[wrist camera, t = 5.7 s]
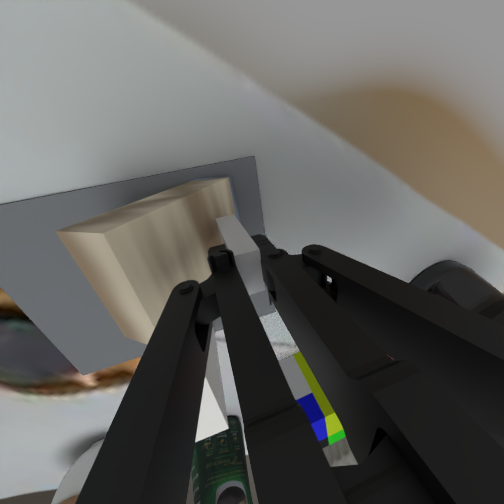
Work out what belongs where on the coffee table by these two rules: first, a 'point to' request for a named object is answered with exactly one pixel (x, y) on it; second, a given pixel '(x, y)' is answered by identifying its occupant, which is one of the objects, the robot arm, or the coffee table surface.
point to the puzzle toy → (312, 400)
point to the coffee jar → (221, 468)
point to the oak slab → (151, 249)
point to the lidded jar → (76, 476)
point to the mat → (70, 275)
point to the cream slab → (212, 397)
